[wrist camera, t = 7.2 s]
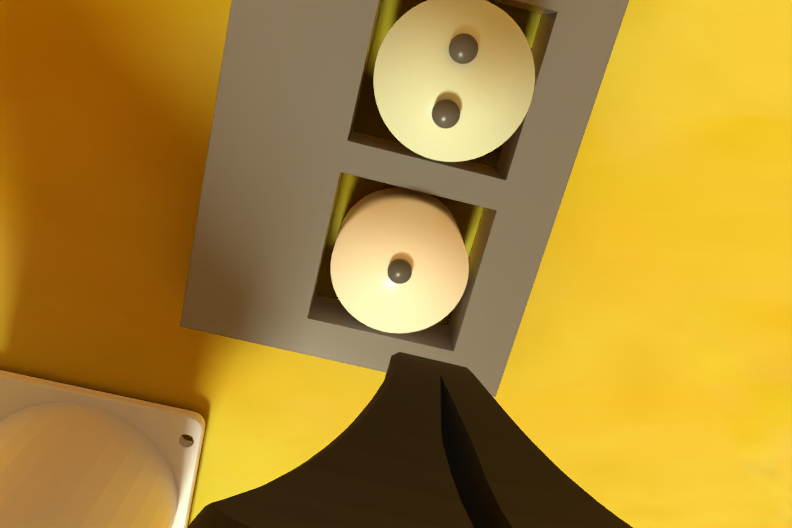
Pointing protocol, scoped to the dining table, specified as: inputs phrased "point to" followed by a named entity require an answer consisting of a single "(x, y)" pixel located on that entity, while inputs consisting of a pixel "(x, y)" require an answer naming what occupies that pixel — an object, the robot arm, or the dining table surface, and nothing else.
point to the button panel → (377, 160)
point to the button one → (399, 261)
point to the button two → (454, 79)
